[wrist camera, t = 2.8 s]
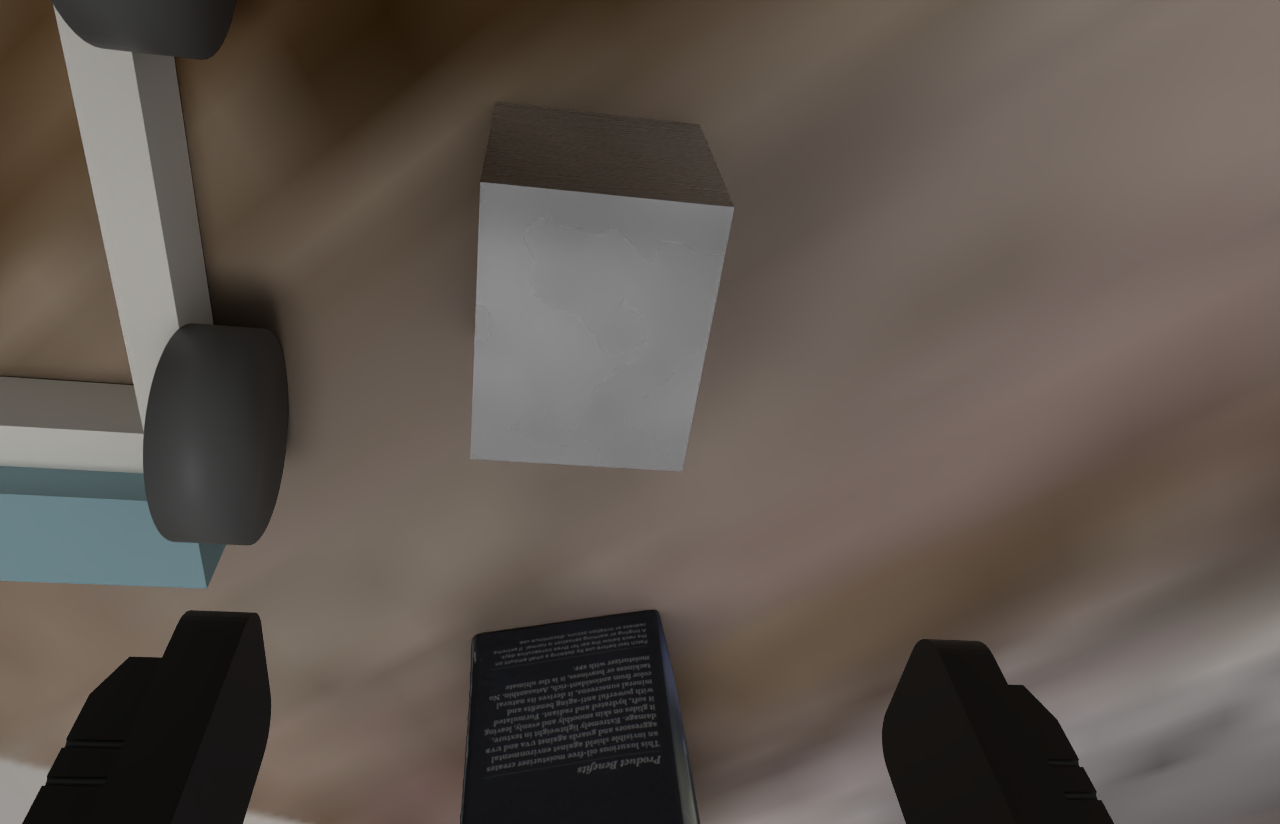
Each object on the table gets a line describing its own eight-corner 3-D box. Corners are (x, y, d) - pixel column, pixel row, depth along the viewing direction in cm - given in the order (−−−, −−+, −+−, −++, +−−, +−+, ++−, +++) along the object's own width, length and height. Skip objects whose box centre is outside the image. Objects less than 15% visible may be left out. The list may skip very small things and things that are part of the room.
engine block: (496, 100, 20) (479, 181, 16) (698, 123, 20) (734, 207, 16) (485, 339, 23) (470, 458, 19) (660, 353, 24) (682, 471, 20)
